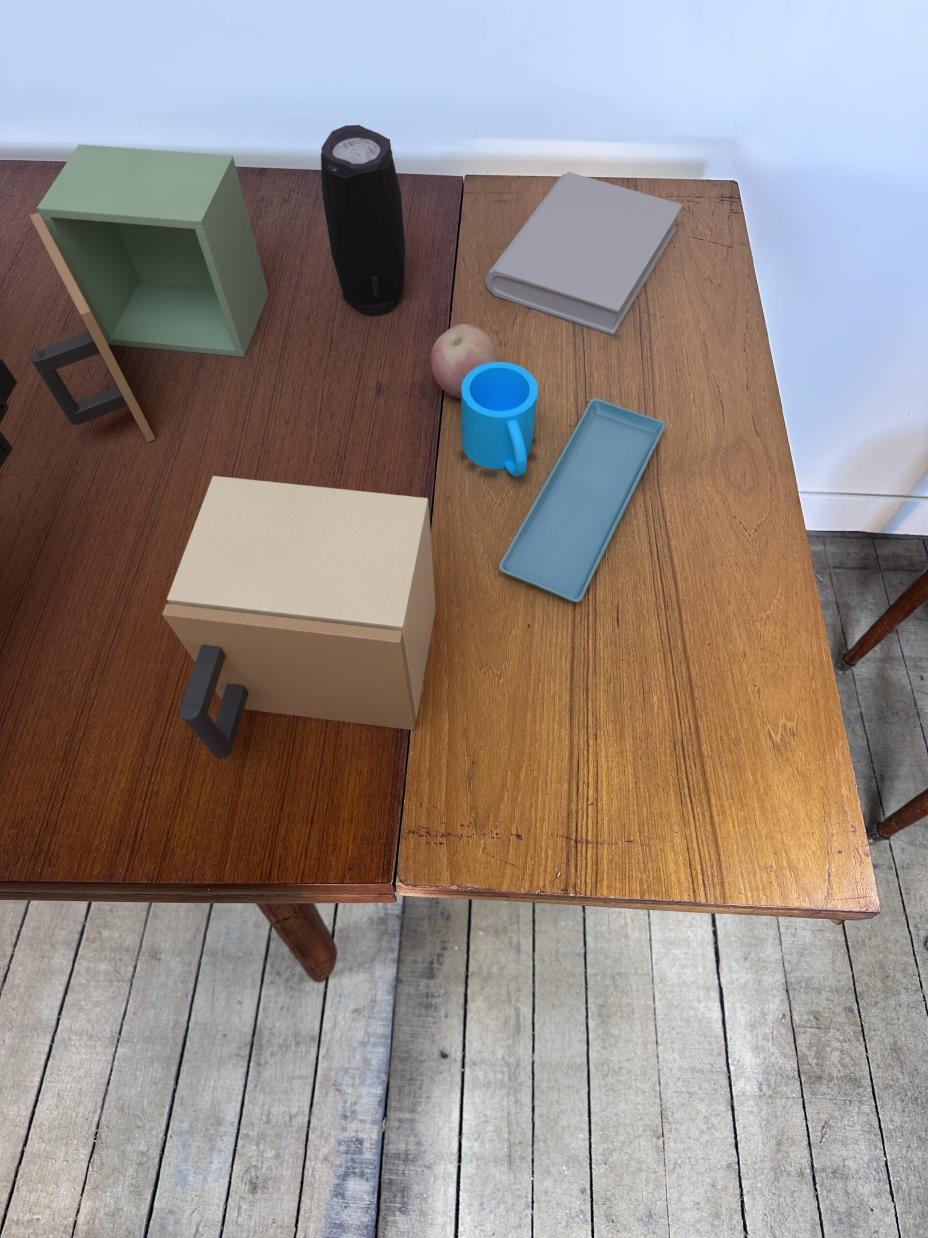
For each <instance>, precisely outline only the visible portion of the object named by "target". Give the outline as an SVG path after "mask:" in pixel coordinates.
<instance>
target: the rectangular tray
mask: <svg viewBox="0 0 928 1238" xmlns="http://www.w3.org/2000/svg"><path fill="white" fill-rule="evenodd" d="M666 427H667V425H666V422H665V421H663V420H661V419H657V418H655V417H652V416H649V415H646V414H642V413H640V412H637V411H634V410H631V409H628V408H626V407H622V406H620V405H616V404H613V403H611V402H608V401H605V400H602V399H599V398H595V397H594V398H591V399H590V400H589V402H588V404H587V407H586V408H585V410H584V412H583V413H582V415H581V417H580V419H579V421H578V423H577V424H576V426H575V428H574V429H573V431H572V433H571V436H569V439H568V441H567V442H566V444H565V446H564V448H563V450H562V451H561V454H560V455H559V457H558V459H557V460H556V462H555V464H554V466H553V468H552V470H551V471H550V473H549V475H548V477H547V478H546V480H545V482H544V484H543V486H542V487H541V489H540V491H539V492H538V494H537V497H536V498H535V499H534V502H533V503H532V505H531V507H530V508H529V510H528V512H527V514H526V516H525V517H524V519H523V521H522V523H521V525H520V526H519V528H518V530H517V532H516V534H515V535H514V537H513V539H512V541H511V542H510V545H509V546H508V548H507V550H506V551H505V553H504V556H503V557H502V559H501V560H500V562H499V563H498V570H499V571H500V572H501V573H503V574H504V575H506V576H507V577H510V578H512V579H514V580H516V581H518V582H519V581H520V582H522V583H524V584H527V585H529V586H531V587H533V588H536V589H538V590H541V591H543V592H545V593H548V594H550V595H553V596H555V597H558V598H560V599H562V600H564V601H567V602H570V603H575V604H576V603H580V602H582V600H583V598H584V596H585V594H586V592H587V590H588V588H589V585H590V583H591V581H592V578H593V577H594V574H595V572H596V570H597V568H598V566H599V565H600V562H601V560H602V558H603V557H604V554H605V552H606V549H607V547H608V546H609V543H610V541H611V539H612V537H613V535H614V533H615V531H616V529H617V527H618V525H619V523H620V522H621V519H622V516H623V515H624V513H625V511H626V509H627V506H628V504H629V503H630V501H631V498H632V496H633V494H634V492H635V490H636V488H637V486H638V484H639V482H640V479H641V477H642V476H643V474H644V471H645V469H646V468H647V465H648V463H649V461H650V459H651V457H652V455H653V453H654V451H655V449H656V447H657V446H658V443H659V441H660V439H661V437H662V435H663V433H664V432H665V430H666Z"/></svg>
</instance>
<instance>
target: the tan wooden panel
mask: <svg viewBox="0 0 928 1238" xmlns="http://www.w3.org/2000/svg"><path fill="white" fill-rule="evenodd" d="M29 217H30V220H31V221H32V223H33V225H34V227H35V229H36V231H37V233H38V235H39V237H40V239H41V241H42V243H43V245H44V247H45V249H46V250H47V253H48V255H49V256H50V258H51V260H52V262H53V265H54V266H55V268H56V270H57V272H58V274H59V276H60V278H61V280H62V282H63V284H64V286H65V288H66V290H67V292H68V293H69V295H70V297H71V300H72V301H73V303H74V305H75V307H76V309H77V311H78V313H79V315H80V317H81V319H82V321H83V323H84V324H85V326H86V328H87V330H88V331H87V332H85V333H82V334H79V335H76V336H73V337H70V338H67V339H65V340H62V341H59V342H56V343H53V344H51V345H48V346H46V347H42V348H39V349H37V350H35V351H33V352H32V353H30V354H29V359H30V361H31V363H32V364H33V366H34V367H35V369H36V371H37V373H38V374H39V376H40V377H41V379H42V380H43V382H44V383H45V385H46V387H47V388H48V390H49V391H50V393H51V395H52V396H53V398H54V400H55V401H56V403H57V404H58V406H59V407H60V409H61V411H62V412H63V414H64V415H65V417H66V418H67V420H68V421H69V423H70V425H73V426H78V425H79V426H80V425H82V424H84V423H87V422H90V421H92V420H94V419H97V418H99V417H102V416H104V415H107V414H110V413H112V412H115V411H117V410H120V409H122V408H126V407H128V409H129V411H130V413H131V414H132V416H133V418H134V420H135V422H136V424H137V425H138V427H139V429H140V431H141V433H142V435H143V437H144V439H145V441H146V442H147V443H149V442H152V441H155V440H156V437H155V434H154V433H153V430H152V429H151V427H150V424H149V423H148V420H147V419H146V417H145V415H144V413H143V412H142V409H141V407H140V405H139V404H138V401H137V400H136V399H137V398H135V396H134V394H133V391H132V390H131V387H130V385H129V383H128V382H127V380H126V378H125V376H124V374H123V372H122V370H121V368H120V366H119V364H118V362H117V360H116V358H115V356H114V354H113V352H112V350H111V348H110V345H109V344H107V342H106V340H105V338H104V336H103V334H102V332H101V330H100V328H99V327H98V325H97V323H96V321H95V319H94V317H93V315H92V313H91V311H90V309H89V307H88V305H87V303H86V301H85V299H84V297H83V296H82V294H81V292H80V290H79V288H78V286H77V284H76V282H75V280H74V278H73V276H72V275H71V273H70V271H69V269H68V267H67V265H66V263H65V261H64V259H63V257H62V256H61V254H60V252H59V250H58V248H57V246H56V244H55V242H54V240H53V238H52V236H51V235H50V233H49V231H48V229H47V227H46V225H45V223H44V221H43V219H42V217H41V215H40V214H39V212H38V211H37V212H35V213H33V214H29ZM99 354H100V355H101V358H102V359H103V360H104V361H103V362H105V364H106V366H107V368H108V370H109V372H110V374H111V376H112V378H113V380H114V382H115V384H116V385H117V386H114V387H113V388H110V389H107V390H104V391H102V392H99V393H96V394H94V395H92V396H89V397H87V398H83V399H81V400H78V401H76V400H75V398H74V396H72V394H71V392H70V391H69V389H68V387H67V385H66V384H65V382H64V381H63V379H62V377H61V376H60V374H59V372H58V371H57V370H58V369H61V368H64V367H66V366H69V365H72V364H74V363H77V362H80V361H83V360H85V359H88V358H90V357H93V356H96V355H99Z"/></svg>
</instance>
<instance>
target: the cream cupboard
mask: <svg viewBox="0 0 928 1238" xmlns="http://www.w3.org/2000/svg"><path fill="white" fill-rule="evenodd" d="M429 505H430V503H429V498H428V497H421V496H411V495H410V496H409V495H401V494H391V493H383V492H372V491H364V490H354V489H344V488H334V487H325V486H317V485H316V486H315V485H306V484H305V485H304V484H296V483H286V482H278V481H277V482H275V481H269V480H257V479H249V478H239V477H230V476H229V477H228V476H218V475H213V476H212V478H211V480H210V483H209V485H208V488H207V490H206V494H205V496H204V498H203V501H202V504H201V506H200V509H199V512H198V515H197V517H196V520H195V523H194V525H193V528H192V531H191V533H190V536H189V539H188V541H187V544H186V546H185V549H184V552H183V555H182V558H181V560H180V562H179V565H178V568H177V571H176V574H175V576H174V578H173V581H172V584H171V587H170V589H169V592H168V593H167V597H166V600H167V602H168V604H174V605H182V606H191V607H200V608H208V609H217V610H225V611H234V612H243V613H251V614H260V615H269V616H277V617H286V618H294V619H303V620H312V621H320V622H329V623H337V624H346V625H355V626H363V627H372V628H381V629H389V630H398V631H402V632H403V638H404V645H405V651H406V658H407V665H408V671H409V678H410V684H411V691H412V697H413V704H414V711H415V717H416V720H417V718H418V714H419V708H420V703H421V697H422V691H423V685H424V681H425V675H426V668H427V663H428V657H429V651H430V645H431V640H432V634H433V629H434V628H433V627H434V622H435V617H436V611H437V608H436V607H437V606H436V594H435V593H436V592H435V576H434V563H433V548H432V533H431V519H430V507H429Z"/></svg>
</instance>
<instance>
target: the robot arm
mask: <svg viewBox="0 0 928 1238" xmlns="http://www.w3.org/2000/svg"><path fill="white" fill-rule="evenodd" d="M17 384H18V381H17V380H16V378H15V377H14V375H13V373H12V372H11V371H10V369H9V368H8V366H7V365H6V363H5V362H4V360H3V359H2V358H0V424H1V423H2V422H3V420H4V418H5V416H6V414H7V413H8V411H9V404H8V403H7V402H8V400H9V398H10V396H11V394H12V393H13V391H14V389H15V388H16V386H17ZM12 451H13V445H12V444H11V443H10V442H9V440H8V439H7V438H6V437H5V435H4V433H2V431H1V430H0V469H1V468H2V467H3V466H4V464H5V462H6V460H7V459H8V457H9V456H10V454H11V452H12Z"/></svg>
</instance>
